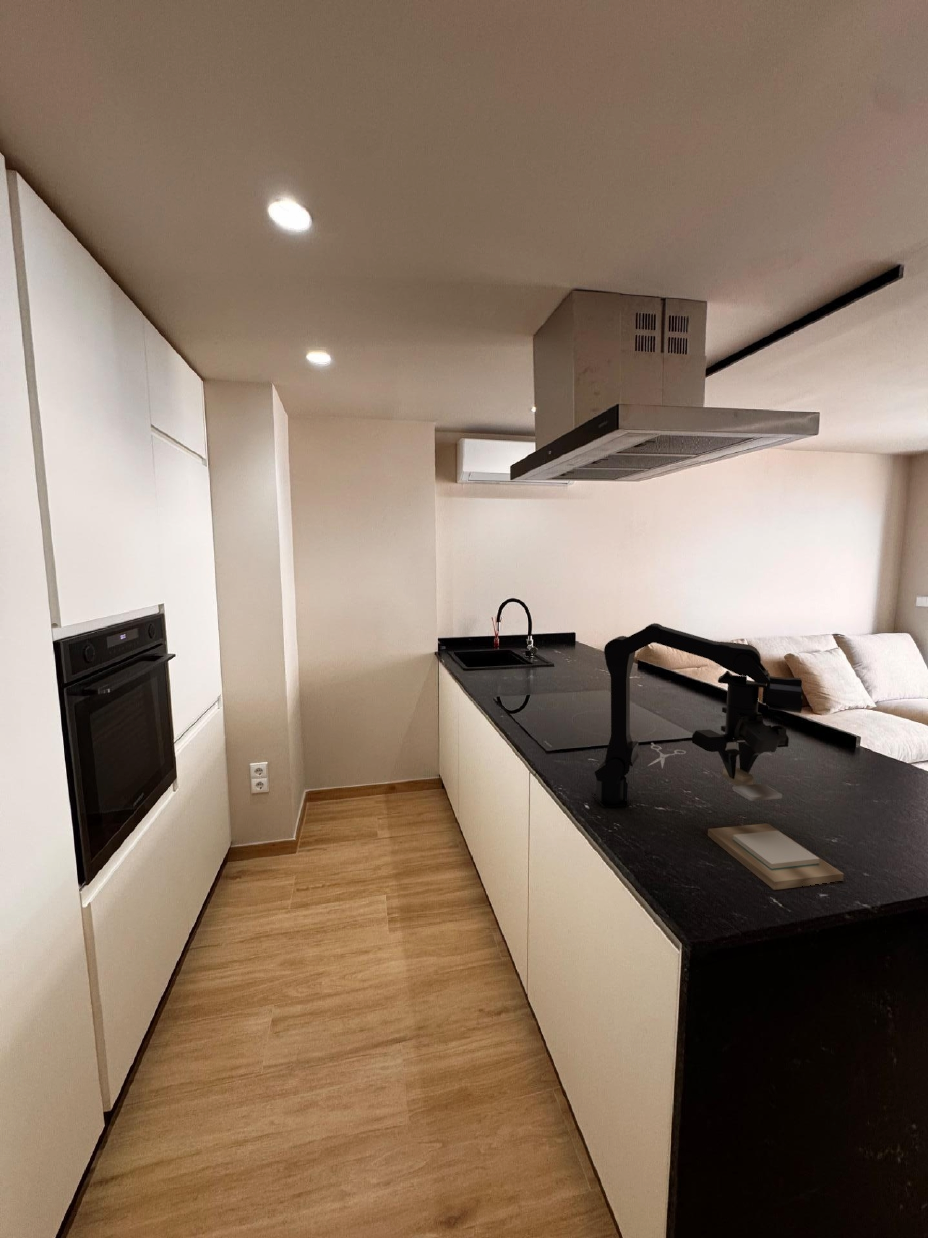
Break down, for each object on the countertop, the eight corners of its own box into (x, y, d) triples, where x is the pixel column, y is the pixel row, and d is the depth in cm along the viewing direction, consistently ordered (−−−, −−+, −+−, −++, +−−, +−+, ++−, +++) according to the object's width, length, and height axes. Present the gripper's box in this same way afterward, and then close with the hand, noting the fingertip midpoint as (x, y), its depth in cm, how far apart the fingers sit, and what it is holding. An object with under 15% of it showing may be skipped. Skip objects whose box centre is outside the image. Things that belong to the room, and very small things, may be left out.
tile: (732, 840, 101) (771, 870, 91) (733, 835, 101) (771, 864, 91) (776, 836, 103) (819, 864, 93) (777, 830, 103) (819, 858, 93)
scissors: (687, 749, 155) (674, 771, 138) (687, 751, 155) (674, 773, 138) (651, 742, 161) (635, 762, 144) (651, 745, 161) (635, 765, 144)
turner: (750, 801, 98) (751, 788, 98) (713, 777, 109) (714, 766, 109) (782, 798, 99) (782, 786, 99) (742, 775, 110) (743, 764, 110)
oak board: (773, 890, 88) (774, 882, 88) (707, 835, 106) (708, 829, 106) (842, 881, 90) (843, 873, 90) (766, 830, 108) (767, 823, 108)
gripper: (728, 719, 95) (723, 798, 97) (813, 714, 99) (808, 791, 100) (692, 703, 106) (688, 775, 108) (770, 699, 110) (765, 769, 111)
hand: (737, 777), depth 107 cm, fingers closed on turner, 2 cm apart
